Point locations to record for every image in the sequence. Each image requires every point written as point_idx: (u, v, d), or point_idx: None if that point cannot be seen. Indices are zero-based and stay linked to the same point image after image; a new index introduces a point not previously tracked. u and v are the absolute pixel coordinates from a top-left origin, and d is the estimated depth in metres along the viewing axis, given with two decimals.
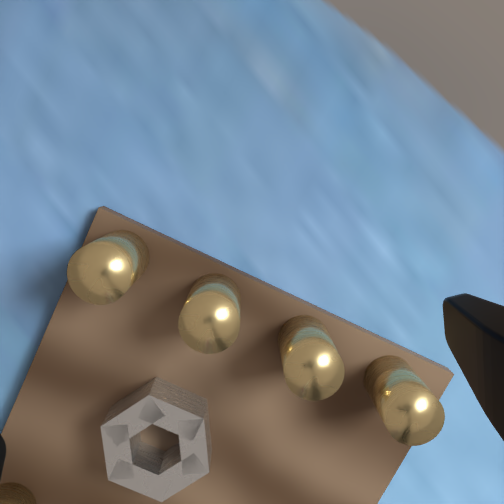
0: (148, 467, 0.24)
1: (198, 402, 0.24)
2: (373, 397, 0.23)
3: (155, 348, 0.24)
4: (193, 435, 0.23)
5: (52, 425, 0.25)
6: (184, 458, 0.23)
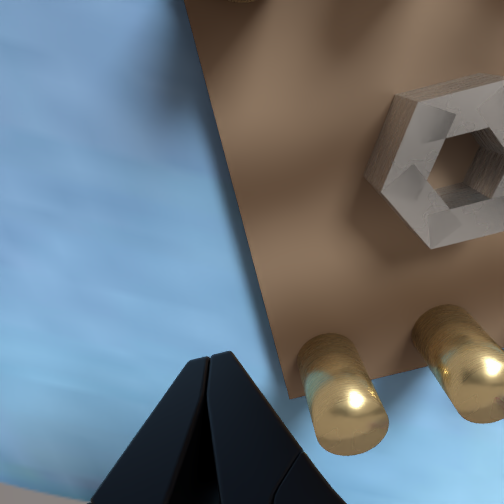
0: (469, 201, 0.16)
1: (477, 77, 0.15)
2: None
3: (370, 56, 0.16)
4: None
5: (310, 249, 0.18)
6: None
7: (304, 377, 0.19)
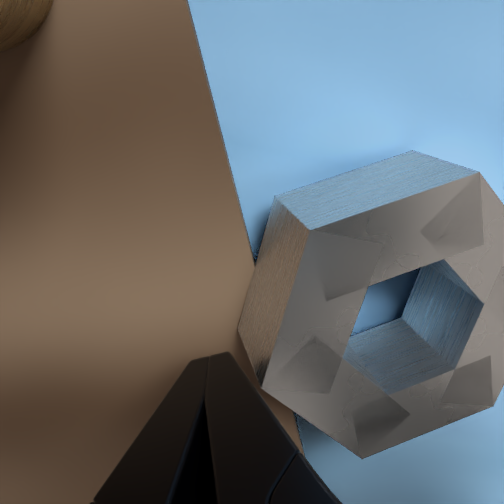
0: (418, 372, 0.09)
1: (412, 164, 0.09)
2: None
3: None
4: (478, 230, 0.08)
5: None
6: (488, 294, 0.09)
7: None
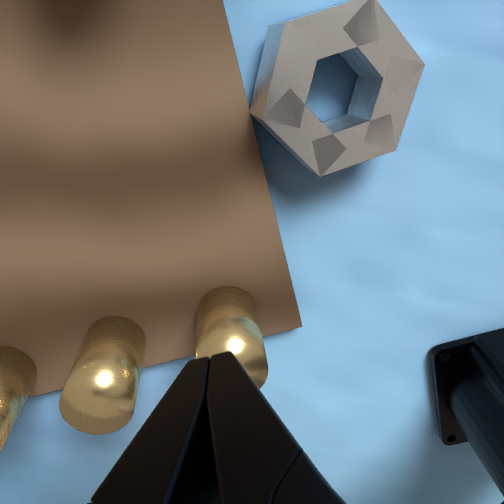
0: (350, 125, 0.16)
1: (343, 2, 0.16)
2: None
3: None
4: (375, 30, 0.15)
5: None
6: (385, 71, 0.16)
7: None
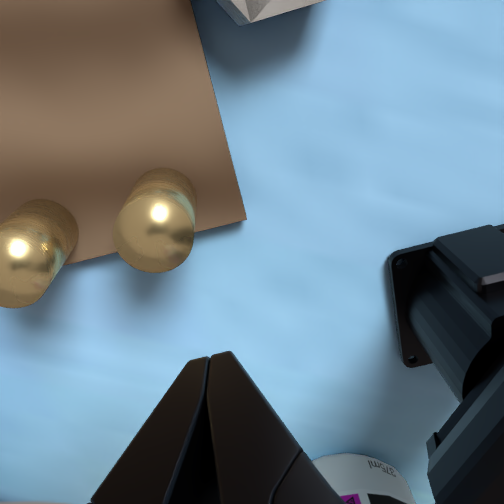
0: None
1: None
2: None
3: None
4: None
5: None
6: None
7: None
